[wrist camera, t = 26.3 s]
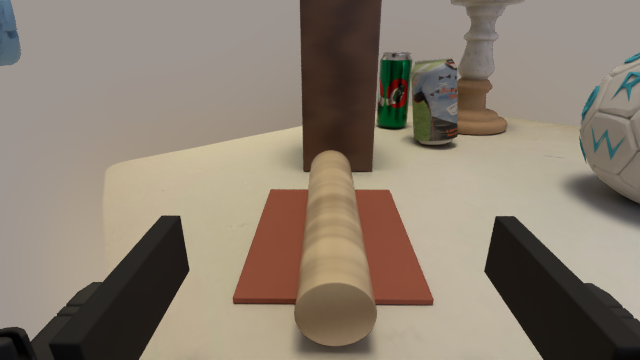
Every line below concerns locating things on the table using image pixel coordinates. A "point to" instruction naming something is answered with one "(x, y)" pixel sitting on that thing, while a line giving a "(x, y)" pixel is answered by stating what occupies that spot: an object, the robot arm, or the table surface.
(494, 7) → the candle holder
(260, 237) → the mat
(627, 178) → the puzzle ball
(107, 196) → the table surface
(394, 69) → the soda can
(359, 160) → the stand
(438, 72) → the beverage can
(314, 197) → the wooden dowel rod
